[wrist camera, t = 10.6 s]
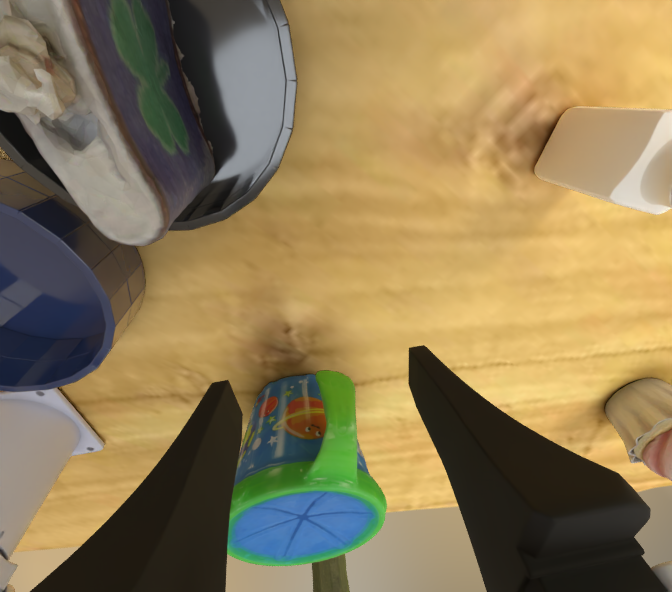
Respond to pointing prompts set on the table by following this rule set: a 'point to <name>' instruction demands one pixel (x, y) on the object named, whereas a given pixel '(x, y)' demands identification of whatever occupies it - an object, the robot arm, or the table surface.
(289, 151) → the table surface
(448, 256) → the table surface
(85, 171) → the flask
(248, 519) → the snack cup
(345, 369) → the table surface
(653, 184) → the pepper shaker
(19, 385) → the indigo bowl
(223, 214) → the charcoal bowl
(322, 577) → the vegetable
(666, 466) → the cupcake
